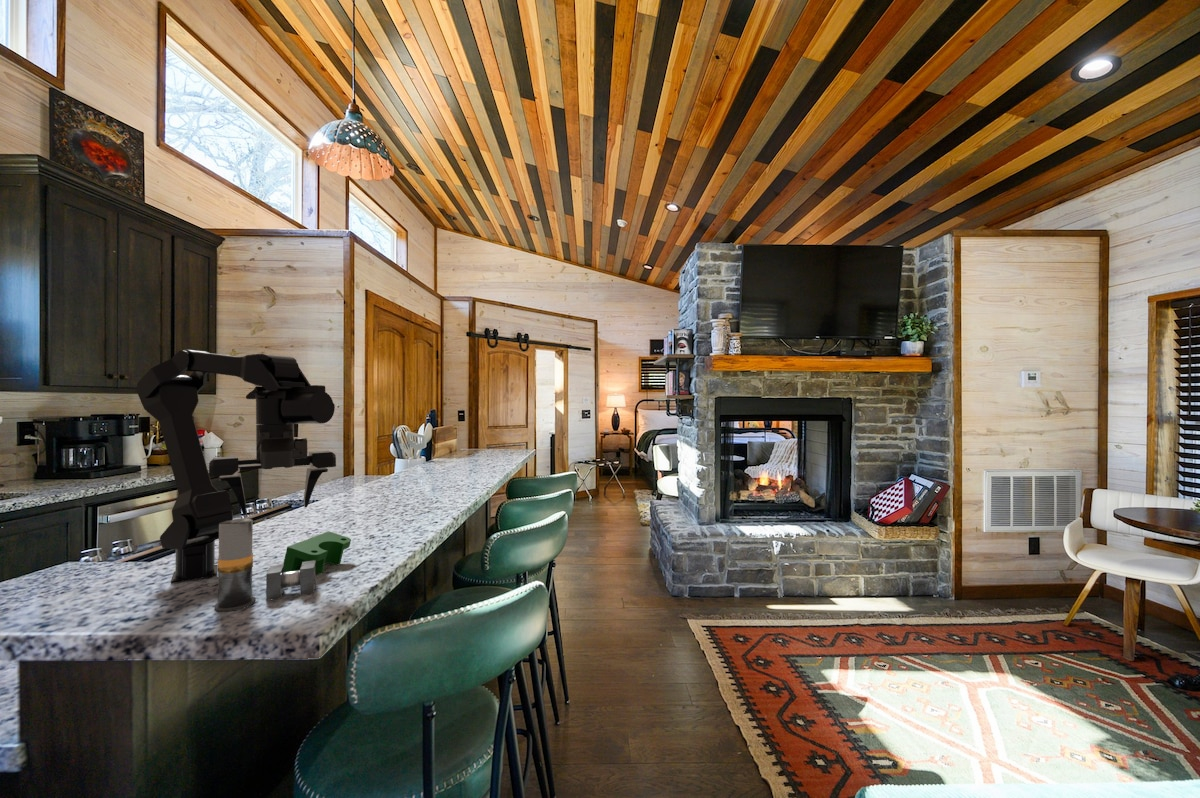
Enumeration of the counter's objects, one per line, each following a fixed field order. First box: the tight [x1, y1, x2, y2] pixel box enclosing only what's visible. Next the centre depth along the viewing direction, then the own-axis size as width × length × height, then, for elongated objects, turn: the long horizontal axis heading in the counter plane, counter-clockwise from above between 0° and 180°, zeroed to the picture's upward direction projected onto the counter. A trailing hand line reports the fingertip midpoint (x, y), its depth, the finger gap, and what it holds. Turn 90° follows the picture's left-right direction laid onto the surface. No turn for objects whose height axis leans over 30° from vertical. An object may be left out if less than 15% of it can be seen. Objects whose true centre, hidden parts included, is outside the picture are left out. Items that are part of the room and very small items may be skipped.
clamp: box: [283, 530, 352, 575], centre depth 97 cm, size 12×6×9 cm, turn 166°
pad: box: [213, 596, 257, 613], centre depth 79 cm, size 5×5×1 cm
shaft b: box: [265, 560, 317, 601], centre depth 84 cm, size 7×4×4 cm, turn 117°
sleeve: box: [217, 518, 254, 608], centre depth 79 cm, size 5×5×13 cm
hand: (276, 510), depth 88 cm, fingers open, 9 cm apart
